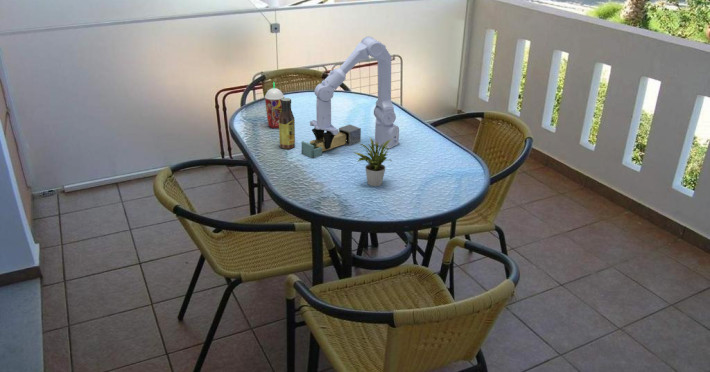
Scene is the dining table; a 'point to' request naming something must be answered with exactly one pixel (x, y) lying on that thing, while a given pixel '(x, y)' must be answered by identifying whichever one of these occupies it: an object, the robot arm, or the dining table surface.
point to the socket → (310, 150)
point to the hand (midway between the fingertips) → (324, 146)
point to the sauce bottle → (286, 125)
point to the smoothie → (273, 106)
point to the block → (337, 141)
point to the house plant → (375, 163)
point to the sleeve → (351, 134)
